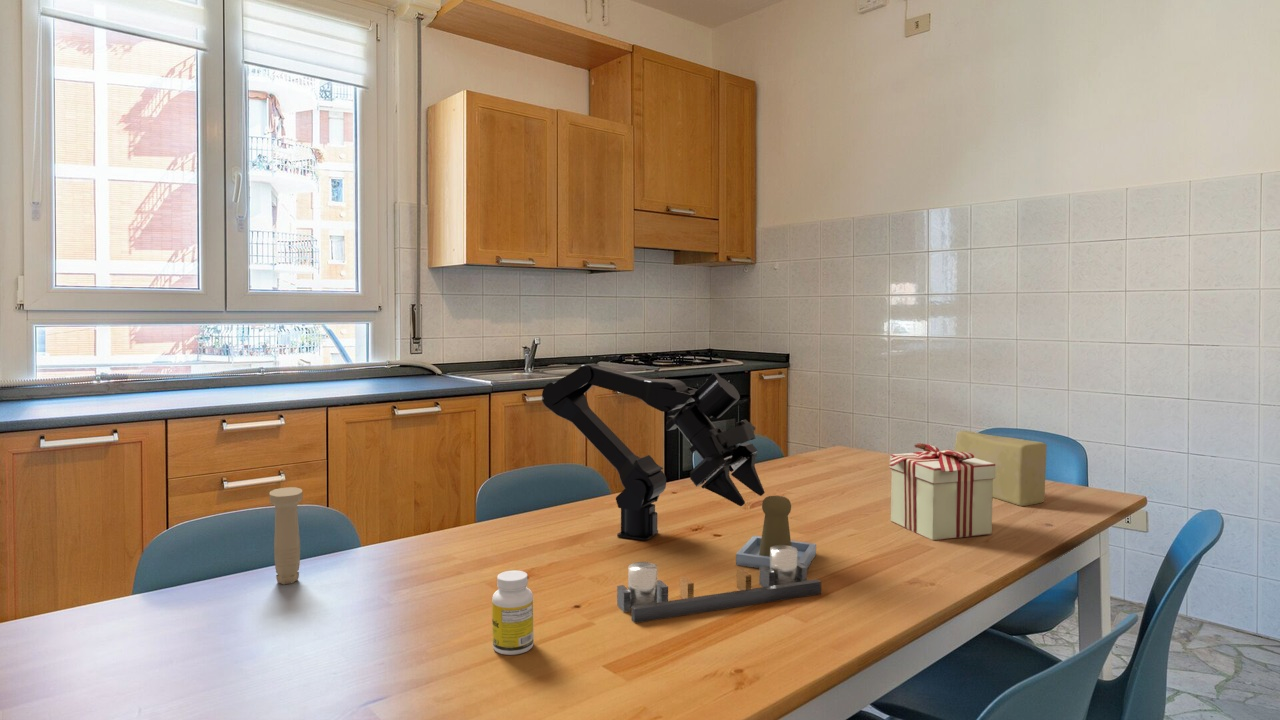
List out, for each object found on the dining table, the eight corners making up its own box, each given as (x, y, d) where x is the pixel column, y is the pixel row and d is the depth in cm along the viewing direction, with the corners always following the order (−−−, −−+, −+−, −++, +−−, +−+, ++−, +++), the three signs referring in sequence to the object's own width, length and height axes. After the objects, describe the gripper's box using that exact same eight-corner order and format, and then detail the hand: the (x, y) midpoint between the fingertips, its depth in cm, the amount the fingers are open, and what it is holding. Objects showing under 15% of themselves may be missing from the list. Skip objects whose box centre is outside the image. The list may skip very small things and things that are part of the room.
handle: (271, 590, 118) (269, 497, 118) (271, 577, 124) (269, 489, 123) (305, 585, 121) (303, 494, 120) (302, 573, 126) (301, 486, 125)
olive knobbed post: (799, 559, 134) (800, 498, 133) (771, 563, 131) (773, 502, 131) (779, 549, 139) (780, 491, 139) (752, 553, 137) (753, 494, 136)
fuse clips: (615, 603, 114) (615, 565, 114) (794, 577, 126) (794, 542, 126) (633, 623, 107) (634, 582, 107) (821, 593, 119) (822, 557, 119)
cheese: (941, 488, 193) (943, 430, 192) (966, 484, 198) (968, 428, 197) (1021, 507, 174) (1023, 444, 173) (1046, 502, 179) (1049, 441, 178)
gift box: (873, 523, 160) (875, 443, 159) (941, 515, 167) (943, 439, 165) (930, 546, 144) (932, 458, 143) (1002, 537, 151) (1005, 453, 150)
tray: (735, 564, 132) (735, 553, 132) (753, 545, 143) (753, 535, 143) (803, 574, 128) (803, 563, 127) (816, 554, 139) (816, 543, 138)
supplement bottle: (494, 638, 102) (494, 568, 101) (534, 637, 102) (534, 567, 101) (490, 657, 96) (489, 582, 96) (532, 655, 97) (532, 582, 96)
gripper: (707, 412, 131) (764, 483, 126) (749, 402, 147) (801, 464, 142) (667, 451, 135) (720, 520, 130) (712, 437, 151) (761, 498, 146)
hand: (753, 499), depth 137 cm, fingers open, 9 cm apart
